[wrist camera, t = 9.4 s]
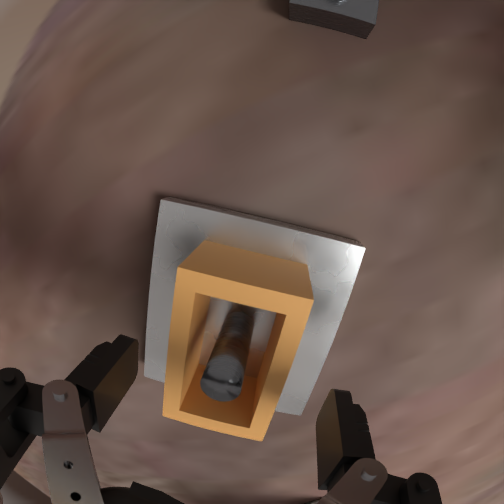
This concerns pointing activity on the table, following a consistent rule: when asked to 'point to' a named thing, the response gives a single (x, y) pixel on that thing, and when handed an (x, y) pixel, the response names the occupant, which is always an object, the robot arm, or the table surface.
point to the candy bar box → (313, 502)
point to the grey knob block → (337, 14)
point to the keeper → (242, 316)
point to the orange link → (193, 326)
